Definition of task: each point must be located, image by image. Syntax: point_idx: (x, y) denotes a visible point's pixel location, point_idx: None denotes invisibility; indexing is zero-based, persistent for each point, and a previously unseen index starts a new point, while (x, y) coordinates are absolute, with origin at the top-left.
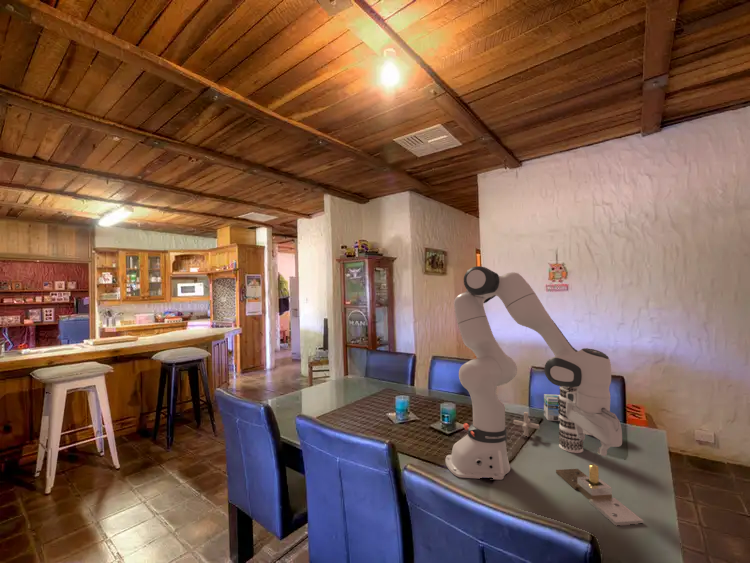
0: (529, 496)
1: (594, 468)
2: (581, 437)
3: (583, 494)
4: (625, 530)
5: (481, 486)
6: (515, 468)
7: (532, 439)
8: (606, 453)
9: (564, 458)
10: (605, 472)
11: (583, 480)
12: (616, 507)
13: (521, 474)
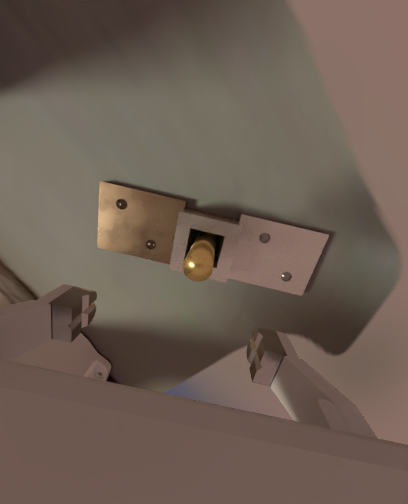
0: (170, 357)
1: (208, 276)
2: (82, 315)
3: None
4: (316, 286)
5: None
6: None
7: None
8: (287, 342)
9: (30, 153)
10: (121, 90)
11: None
12: (271, 248)
13: (97, 320)
